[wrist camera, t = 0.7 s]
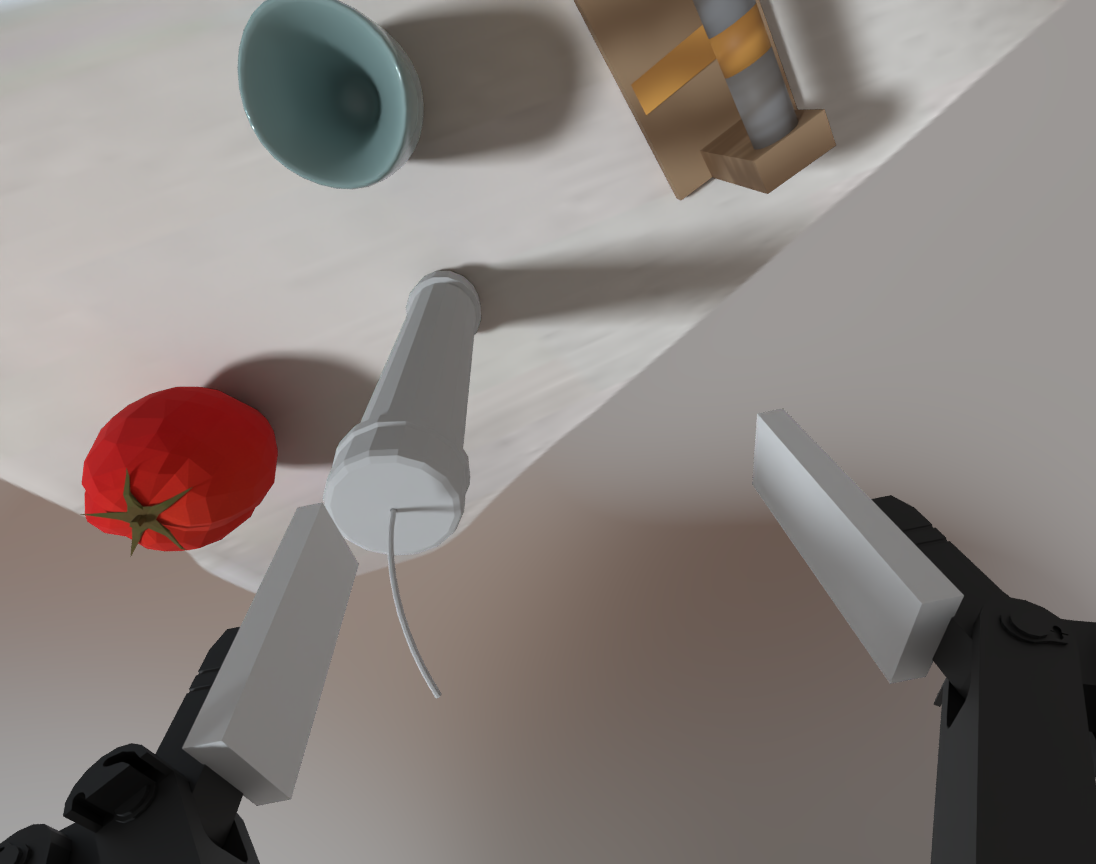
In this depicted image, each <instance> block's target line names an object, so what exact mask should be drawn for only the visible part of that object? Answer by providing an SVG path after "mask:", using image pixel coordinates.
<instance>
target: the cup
mask: <svg viewBox="0 0 1096 864" xmlns="http://www.w3.org/2000/svg"><path fill="white" fill-rule="evenodd" d="M238 80H239V90H240V94H241V98H242V103H243V107H244V110H245V112H246V115H247V117H248V120H249V122H250V125H251V127H252V129H253V130H254V132H255V134H256V135H257V137H258V139H259V140H260V142H261V143H262V145H263V146H264V147H265V148H266V149H267V150H268V151H269V153H270V154H271V155H272V156H273V157H274V158H275V159H276V160H278V161H279V162H280V163H281V164H282V165H284V166H285V167H286V168H287V169H289V170H291V171H292V172H294V173H296V174H297V175H299V176H301V177H303V178H305V179H307V180H310V181H312V182H315V183H317V184H320V185H323V186H328V187H332V188H337V189H358V188H364V187H369V186H372V185H374V184H376V183H378V182H381V181H383V180H385V179H387V178H388V177H390V176H391V175H393V174H394V173H395V172H396V171H397V170H399V169H400V168H401V167H402V166H403V165H404V164H405V163H406V162H407V161H408V159H409V158H410V156H411V155H412V154H413V152H414V150H415V148H416V145H417V143H418V141H419V138H420V134H421V130H422V126H423V116H424V103H423V93H422V88H421V84H420V80H419V77H418V75H417V72H416V70H415V67H414V65H413V63H412V61H411V60H410V58H409V57H408V55H407V54H406V52H405V51H404V49H403V48H402V47H401V46H400V45H399V44H398V43H397V42H396V41H395V40H394V38H393V37H392V36H391V35H390V34H389V33H388V32H387V31H385V30H384V29H383V28H382V27H380V26H379V25H378V24H376V23H375V22H374V21H372V20H371V19H369V18H368V17H367V16H365V15H364V14H363V13H361V12H360V11H358V10H357V9H355V8H353V7H351V6H349V5H347V4H345V3H343V2H341V1H339V0H267V1H265V2H263V3H262V4H261V5H260V6H259V7H258V8H257V9H256V10H255V12H254V13H253V14H252V15H251V17H250V19H249V21H248V23H247V25H246V27H245V29H244V31H243V35H242V39H241V43H240V47H239V55H238Z"/></svg>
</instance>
